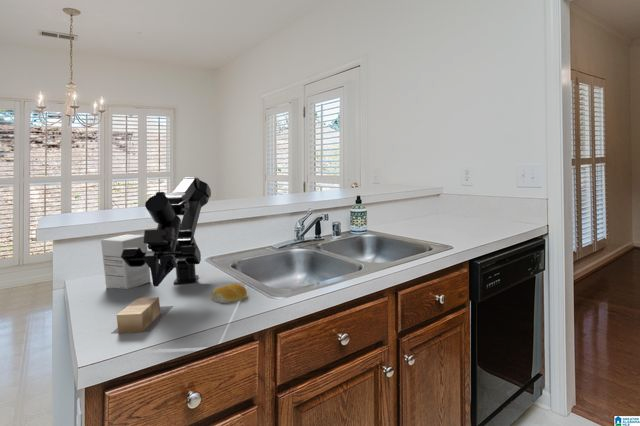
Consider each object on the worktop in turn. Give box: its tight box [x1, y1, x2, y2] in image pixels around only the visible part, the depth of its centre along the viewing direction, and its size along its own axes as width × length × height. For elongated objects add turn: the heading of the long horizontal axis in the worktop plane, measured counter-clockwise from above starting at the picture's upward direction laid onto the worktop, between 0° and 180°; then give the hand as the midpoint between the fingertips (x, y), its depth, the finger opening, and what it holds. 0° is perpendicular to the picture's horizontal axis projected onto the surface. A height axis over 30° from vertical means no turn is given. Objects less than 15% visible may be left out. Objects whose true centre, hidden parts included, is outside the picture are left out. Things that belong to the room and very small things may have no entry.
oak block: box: [116, 296, 161, 334], centre depth 83 cm, size 4×5×10 cm
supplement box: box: [100, 233, 152, 290], centre depth 112 cm, size 9×9×15 cm
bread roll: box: [211, 283, 248, 304], centre depth 98 cm, size 8×9×4 cm
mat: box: [111, 305, 174, 334], centre depth 85 cm, size 14×8×1 cm, turn 3°
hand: (155, 285), depth 92 cm, fingers closed
